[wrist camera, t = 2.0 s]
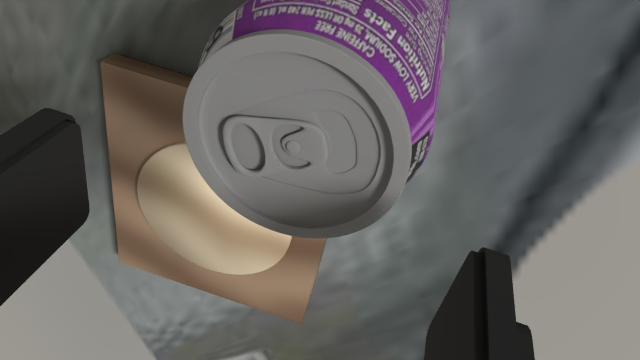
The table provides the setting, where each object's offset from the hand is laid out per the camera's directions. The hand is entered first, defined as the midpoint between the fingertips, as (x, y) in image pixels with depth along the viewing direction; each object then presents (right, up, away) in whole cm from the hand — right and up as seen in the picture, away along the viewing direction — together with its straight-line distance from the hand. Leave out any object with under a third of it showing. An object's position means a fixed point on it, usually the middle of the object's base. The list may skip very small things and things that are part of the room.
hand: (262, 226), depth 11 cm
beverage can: (+4, +9, +11) cm, 15 cm away
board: (-5, 0, +20) cm, 20 cm away
